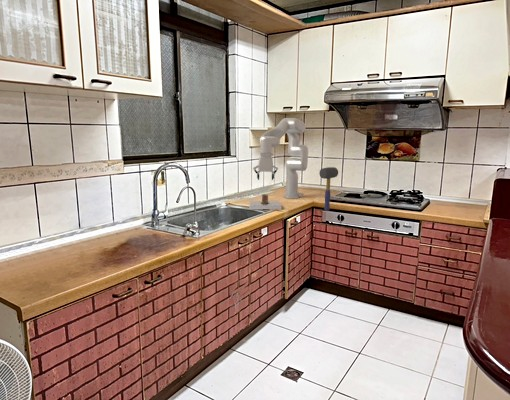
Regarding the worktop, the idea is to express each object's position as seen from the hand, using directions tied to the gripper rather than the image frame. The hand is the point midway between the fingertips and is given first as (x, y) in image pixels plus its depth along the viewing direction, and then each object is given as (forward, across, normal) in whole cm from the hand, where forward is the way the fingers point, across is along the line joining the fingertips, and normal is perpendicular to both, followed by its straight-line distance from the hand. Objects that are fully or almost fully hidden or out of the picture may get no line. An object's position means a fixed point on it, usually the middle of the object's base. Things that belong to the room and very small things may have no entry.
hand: (265, 179), depth 252 cm
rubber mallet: (+20, -42, +10) cm, 47 cm away
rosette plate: (+20, 0, 0) cm, 20 cm away
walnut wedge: (+20, 0, 0) cm, 20 cm away
